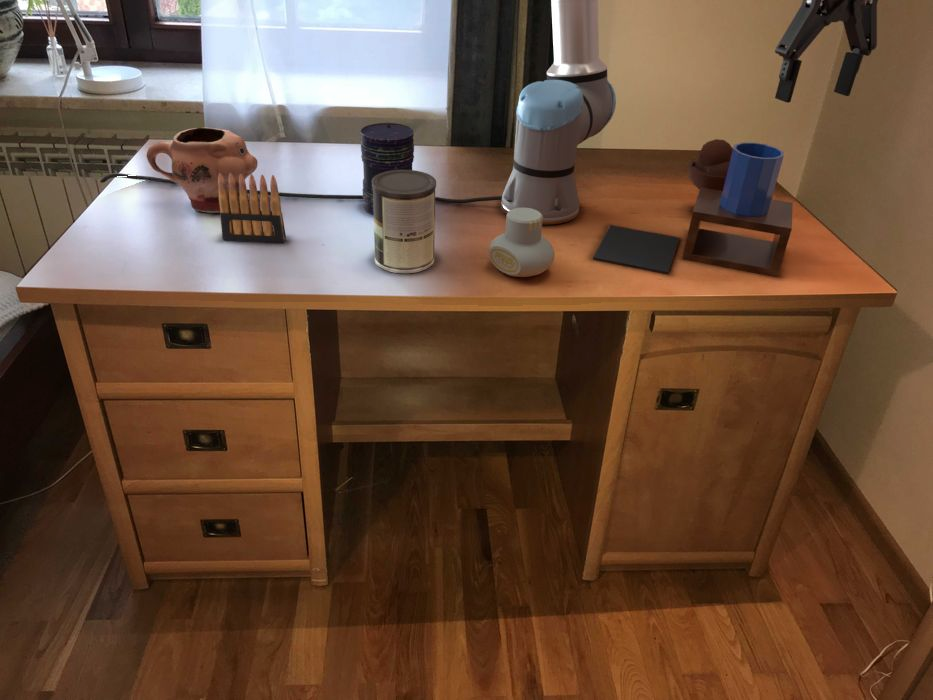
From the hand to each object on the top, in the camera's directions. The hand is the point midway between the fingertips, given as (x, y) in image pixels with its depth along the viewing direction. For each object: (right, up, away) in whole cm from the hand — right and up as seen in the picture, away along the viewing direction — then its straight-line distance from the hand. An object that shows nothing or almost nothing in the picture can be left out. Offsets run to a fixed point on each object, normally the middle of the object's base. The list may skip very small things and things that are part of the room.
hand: (812, 97), depth 127 cm
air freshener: (-49, -29, 0) cm, 57 cm away
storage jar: (-73, -15, +20) cm, 77 cm away
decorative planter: (-107, -15, +17) cm, 110 cm away
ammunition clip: (-95, -23, +6) cm, 98 cm away
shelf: (-11, -25, +9) cm, 29 cm away
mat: (-27, -24, +9) cm, 38 cm away
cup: (-10, -18, +4) cm, 21 cm away
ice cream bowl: (-10, -15, +24) cm, 30 cm away
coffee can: (-69, -27, +2) cm, 74 cm away
